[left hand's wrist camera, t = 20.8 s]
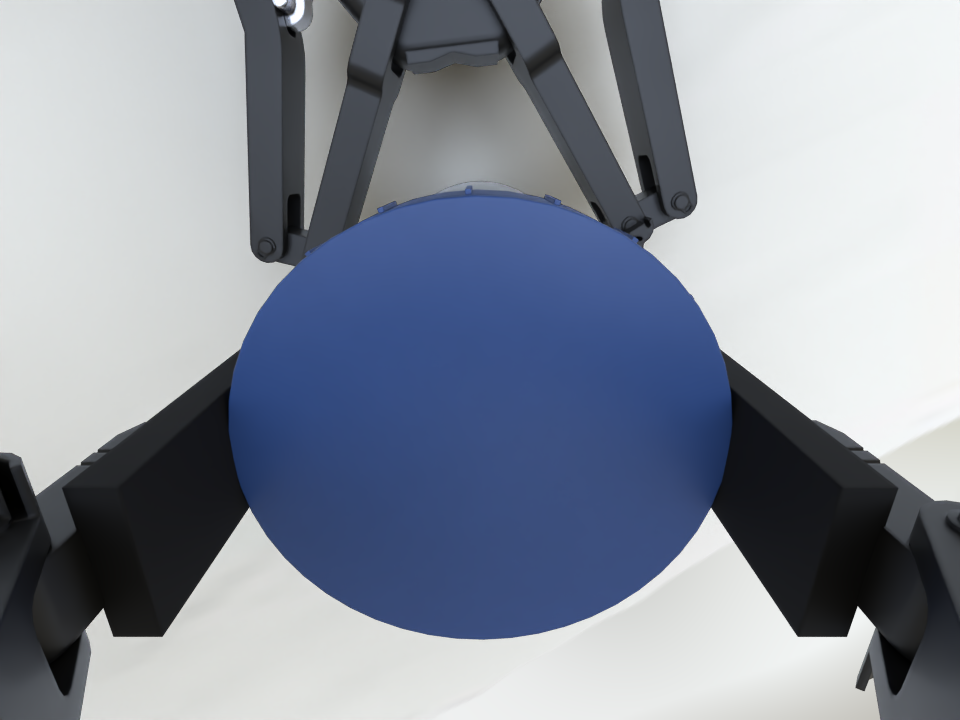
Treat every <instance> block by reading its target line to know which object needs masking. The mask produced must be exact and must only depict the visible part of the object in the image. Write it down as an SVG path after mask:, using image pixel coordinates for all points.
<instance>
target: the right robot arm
mask: <svg viewBox="0 0 960 720" xmlns="http://www.w3.org/2000/svg"><path fill="white" fill-rule="evenodd" d="M541 1H542V0H339V2H340V3H341V4H342V5H343V6H344V8H345V9H346V10H347V11H348V12H349V13H350V15H351V16H352V17H353V18H354V19H355V21H356V22H357V23H358V27H357V31H356V35H355V39H354V42H353V46H352V50H351V54H350V58H349V62H348V69H347V76H348V80H347V86H346V90H345V93H344V97H343V101H342V105H341V109H340V113H339V116H338V120H337V124H336V128H335V132H334V135H333V139H332V143H331V147H330V151H329V154H328V158H327V162H326V166H325V170H324V173H323V177H322V181H321V185H320V189H319V192H318V196H317V200H316V204H315V208H314V211H313V215H312V219H311V223H310V227H309V230H305V229H304V158H305V52H304V45H303V39H302V35H301V31H303V30H305V29H307V28H308V27H309V26H310V24H311V22H312V18H313V7H312V3H313V0H234V2H235V5H236V8H237V11H238V14H239V17H240V20H241V23H242V26H243V29H244V32H245V65H246V101H247V137H248V173H249V209H250V245H251V249H252V252H253V253H254V255H255V257H257V258H258V259H259V260H261V261H263V262H266V263H272V262H275V261H276V262H280V263H284V264H288V265H293V266H297V265H298V264H299V262H300V261H301V260H303V259H304V258H305V257H307V256H306V255H305V253H306V252H307V251H309V250H311V249H313V248H315V247H317V246H319V245H321V244H323V243H325V242H326V241H328V240H329V239H330V238H332V237H334V236H336V235H338V234H339V233H341V232H343V231H345V230H347V229H348V228H350V227H352V226H354V225H356V224H357V223H358V221H359V218H360V215H361V211H362V208H363V205H364V201H365V198H366V194H367V191H368V188H369V184H370V181H371V177H372V174H373V171H374V167H375V164H376V161H377V157H378V154H379V150H380V147H381V144H382V140H383V137H384V133H385V130H386V127H387V123H388V120H389V116H390V113H391V110H392V106H393V104H394V101H395V100H396V98H397V96H398V94H399V91H400V88H401V84H402V81H403V77H404V74H405V71H406V70H409V71H412V72H413V73H414V74H422V73H430V72H436V71H438V70H440V69H442V68H445V67H447V66H449V65H452V64H454V63H458V64H464V65H469V66H475V67H480V66H489V65H497V63H498V61H499V60H501V59H503V58H505V57H506V59H507V61H508V63H509V65H510V66H511V68H512V70H513V72H514V74H515V75H516V77H517V79H518V80H519V82H520V83H521V84H522V85H523V87H524V88H525V90H526V91H527V93H528V95H529V97H530V99H531V100H532V102H533V104H534V106H535V108H536V109H537V111H538V113H539V115H540V117H541V118H542V120H543V122H544V124H545V126H546V127H547V129H548V131H549V133H550V135H551V136H552V138H553V140H554V142H555V143H556V145H557V147H558V149H559V151H560V152H561V154H562V156H563V158H564V160H565V161H566V163H567V165H568V167H569V169H570V170H571V172H572V174H573V176H574V178H575V179H576V181H577V183H578V185H579V187H580V188H581V190H582V192H583V194H584V196H585V197H586V199H587V201H588V203H589V205H590V206H591V208H592V210H593V212H594V214H595V215H596V217H597V219H598V221H599V222H601V223H602V224H604V225H606V226H608V227H610V228H612V229H613V228H614V227H615V228H617V229H619V230H621V231H623V232H625V233H627V234H630V235H632V236H634V237H635V238H637V239H638V240H639V241H638V242H637V244H638V245H639V246H641V247H642V248H643V245H644V243H645V242H646V241H647V240H648V239H649V238H650V236H651V235H652V233H653V229H655V228H657V227H659V226H661V225H663V224H665V223H667V222H669V221H671V220H673V219H681V218H685V217H687V216H689V215H690V214H691V213H692V212H693V211H694V209H695V207H696V204H697V193H696V188H695V182H694V177H693V172H692V167H691V162H690V157H689V151H688V146H687V141H686V136H685V131H684V126H683V120H682V115H681V110H680V105H679V100H678V95H677V89H676V84H675V79H674V74H673V69H672V63H671V58H670V53H669V48H668V43H667V38H666V32H665V27H664V22H663V17H662V12H661V7H660V1H659V0H602V14H603V22H604V28H605V33H606V37H607V42H608V46H609V50H610V55H611V59H612V63H613V68H614V72H615V77H616V81H617V85H618V90H619V94H620V98H621V103H622V107H623V111H624V116H625V120H626V124H627V129H628V133H629V137H630V142H631V146H632V151H633V155H634V159H635V164H636V168H637V172H638V177H639V181H640V185H641V190H642V192H641V193H639V194H637V195H634V193H633V191H632V189H631V187H630V185H629V183H628V182H627V180H626V178H625V176H624V174H623V172H622V170H621V168H620V166H619V164H618V162H617V160H616V159H615V157H614V155H613V153H612V151H611V149H610V147H609V145H608V143H607V141H606V139H605V138H604V136H603V134H602V132H601V130H600V128H599V126H598V124H597V122H596V120H595V118H594V116H593V115H592V113H591V111H590V109H589V107H588V105H587V103H586V101H585V99H584V97H583V95H582V94H581V92H580V90H579V88H578V86H577V84H576V82H575V80H574V78H573V76H572V74H571V72H570V71H569V69H568V67H567V65H566V63H565V61H564V59H563V57H562V54H561V51H560V46H559V43H558V41H557V38H556V36H555V34H554V32H553V30H552V28H551V27H550V25H549V23H548V21H547V19H546V17H545V15H544V13H543V11H542V9H541V7H540V5H539V4H540V3H541Z"/></svg>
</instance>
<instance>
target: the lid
mask: <svg viewBox="0 0 960 720" xmlns="http://www.w3.org/2000/svg"><path fill="white" fill-rule="evenodd" d="M560 203H561V200H558V199H556V198H554V197H552V196H549V195H546V194H545V197H544V198H541V197H537V196H532V195H527V194H521V193H516V192H511V191H498V190H479V189H475V190H473V187H472V185H469V186H467V187H466V189H465V190H463V191H451V192H443V193H438V194H434V195H429V196H425V197H421V198H416V199H412V200H410V201H407V202H404V203H402V204H399V205H397V203H396V201H394V202H391V203H389V204H387V205H384V206H382V207H380V208H378V209H377V210H378V212H379V213H377V214H375V215H373V216H371V217H369V218H367V219H365V220H363V221H361V222H359V223H357V224H356V225H354V226H352V227H350V228H348V229H347V230H345V231H343V232H341V233H339V234H338V235H336V236H334V237H332V238H330V239H329V240H328V241H326V242H325V243H323V244H321V245H319V246H317V247H315V248H313V249H311V250H309V251H307V252H306V253H305V255H306V256H307V257H305V258H304V259H303V260H301V261H300V262H299V264H298V265H297V266H296V267H295V268H294V269H293V270H292V271H291V272H290V273H289V274H288V275H287V276H286V277H285V278H284V279H283V280H282V281H281V282H280V283H279V284H278V285H277V286H276V288H275V289H274V291H273V292H272V293H271V295H270V296H269V298H268V299H267V300H266V302H265V303H264V304H263V306H262V307H261V309H260V310H259V311H258V313H257V315H256V317H255V319H254V321H253V323H252V325H251V327H250V329H249V331H248V333H247V335H246V337H245V339H244V341H243V343H242V347H241V350H240V353H239V356H238V359H237V362H236V365H235V368H234V371H233V378H232V384H231V390H230V396H229V436H230V442H231V447H232V452H233V458H234V463H235V467H236V472H237V476H238V480H239V483H240V486H241V489H242V491H243V493H244V495H245V498H246V500H247V502H248V504H249V506H250V509H251V511H252V513H253V515H254V516H255V518H256V519H257V521H258V523H259V524H260V526H261V527H262V529H263V531H264V532H265V534H266V535H267V537H268V538H269V539H270V540H271V542H272V543H273V544H274V545H275V547H276V548H277V549H278V550H279V551H280V553H281V554H282V555H283V556H284V558H285V559H287V560H288V561H289V562H290V563H291V564H292V565H293V566H294V567H295V568H296V569H297V570H298V571H299V572H300V573H301V574H302V575H303V576H304V577H305V578H307V579H308V580H309V581H311V582H312V583H313V584H315V585H316V586H317V587H319V588H320V589H321V590H323V591H324V592H325V593H326V594H328V595H330V596H331V597H333V598H335V599H336V600H338V601H340V602H341V603H343V604H345V605H346V606H348V607H350V608H352V609H354V610H356V611H358V612H360V613H363V614H365V615H367V616H369V617H371V618H373V619H376V620H378V621H381V622H384V623H387V624H390V625H393V626H396V627H399V628H402V629H406V630H410V631H414V632H419V633H423V634H427V635H434V636H441V637H449V638H456V639H483V640H484V639H501V638H513V637H520V636H526V635H533V634H539V633H543V632H546V631H550V630H554V629H558V628H562V627H565V626H568V625H571V624H574V623H576V622H579V621H582V620H584V619H587V618H590V617H592V616H594V615H596V614H598V613H600V612H602V611H604V610H606V609H608V608H610V607H612V606H614V605H616V604H618V603H619V602H621V601H623V600H624V599H626V598H627V597H629V596H631V595H632V594H634V593H635V592H637V591H638V590H640V589H641V588H642V587H644V586H645V585H646V584H647V583H649V582H650V581H651V580H652V579H654V578H655V577H656V576H657V575H659V574H660V573H661V572H662V571H663V570H664V569H665V568H666V567H667V566H668V565H669V564H670V563H671V562H672V561H673V560H674V559H675V558H676V557H677V556H678V555H679V554H680V553H681V551H682V550H683V549H684V547H685V546H686V545H687V544H688V542H689V541H690V540H691V538H692V537H693V536H694V534H695V533H696V532H697V530H698V529H699V527H700V525H701V524H702V522H703V520H704V518H705V517H706V515H707V513H708V512H709V510H710V508H711V506H712V504H713V502H714V499H715V497H716V494H717V492H718V490H719V487H720V485H721V482H722V479H723V474H724V469H725V465H726V460H727V455H728V450H729V444H730V439H731V433H732V402H731V391H730V386H729V381H728V376H727V371H726V366H725V362H724V359H723V357H722V354H721V351H720V348H719V346H718V343H717V340H716V337H715V335H714V333H713V331H712V329H711V327H710V326H709V324H708V322H707V320H706V318H705V316H704V315H703V313H702V311H701V309H700V307H699V306H698V304H697V303H696V302H695V301H694V298H693V296H692V295H691V294H689V293H688V291H687V290H686V289H685V288H684V286H683V285H682V284H681V282H680V281H679V280H678V279H677V278H676V277H675V276H674V275H673V274H672V273H671V272H670V271H669V270H668V269H667V268H666V267H665V266H664V265H663V264H662V263H661V262H660V261H658V260H657V259H656V258H655V257H654V256H653V255H652V254H651V253H649V252H648V251H646V250H645V249H644V248H642V247H641V246H639V245H638V244H637V242H638V241H639V240H638V239H637V238H635V237H634V236H632V235H630V234H627V233H625V232H623V231H621V230H619V229H617V228H615V227H614V228H613V229H612V228H610V227H608V226H606V225H604V224H602V223H601V222H599V221H597V220H595V219H593V218H591V217H589V216H587V215H585V214H583V213H581V212H578V211H576V210H574V209H572V208H570V207H567V206H565V205H562V204H560Z"/></svg>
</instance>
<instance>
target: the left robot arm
mask: <svg viewBox="0 0 960 720" xmlns="http://www.w3.org/2000/svg"><path fill="white" fill-rule="evenodd" d="M240 350H241V349H240ZM240 350H239V351H238V352H236V353H235V354H234V355H232V356H231V357H230V358H229V359H227V360H226V361H225V362H223V363H222V364H221V365H219V366H218V367H217V368H216V369H214V370H213V371H212V372H210V373H209V374H208V375H207V376H205V377H204V378H203V379H201V380H200V381H199V382H198V383H196V384H195V385H194V386H192V387H191V388H190V389H189V390H187V391H186V392H185V393H183V394H182V395H181V396H180V397H178V398H177V399H176V400H174V401H173V402H172V403H170V404H169V405H168V406H167V407H165V408H164V409H163V410H161V411H160V412H159V413H158V414H156V415H155V416H154V417H152V418H151V419H150V420H149V421H147V422H144V423H142V424H140V425H138V426H136V427H133V428H131V429H129V430H127V431H125V432H123V433H121V434H118V435H117V436H115V437H114V438H113V439H111V440H110V441H109V442H107V443H106V444H105V445H103V446H102V447H101V448H99V449H98V452H97V453H93V454H91V455H90V456H89V457H87V458H86V459H85V460H83V461H82V462H81V466H75V467H74V468H73V469H71V470H70V471H69V472H67V473H66V474H65V475H63V476H62V477H61V478H59V479H58V480H57V481H55V482H54V483H53V484H51V485H50V486H49V487H47V488H46V489H45V490H43V491H42V492H41V493H39V494H38V495H37V496H35V494H34V491H33V489H32V486H31V483H30V481H29V478H28V475H27V473H26V470H25V467H24V465H23V462H22V459H21V457H19V456H17V455H14V454H12V453H0V720H80V715H81V709H82V703H83V697H84V691H85V685H86V679H87V673H88V667H89V661H90V655H91V649H90V642H89V639H88V636H87V634H86V631H85V629H86V628H87V627H88V625H89V624H90V623H91V622H92V621H93V620H94V618H95V617H96V616H97V615H98V614H99V612H100V611H101V610H102V609H103V608H104V611H105V614H106V617H107V619H108V622H109V625H110V628H111V631H112V634H113V637H163V635H164V634H165V632H166V631H167V629H168V628H169V626H170V625H171V623H172V622H173V620H174V619H175V617H176V616H177V614H178V613H179V611H180V610H181V608H182V607H183V605H184V604H185V602H186V601H187V599H188V598H189V596H190V595H191V593H192V592H193V590H194V589H195V588H196V586H197V585H198V583H199V582H200V580H201V579H202V577H203V576H204V574H205V573H206V571H207V570H208V568H209V567H210V565H211V564H212V562H213V561H214V559H215V558H216V556H217V555H218V553H219V552H220V550H221V549H222V547H223V546H224V544H225V543H226V541H227V540H228V538H229V537H230V535H231V534H232V532H233V531H234V529H235V528H236V526H237V525H238V523H239V522H240V520H241V519H242V517H243V516H244V514H245V513H246V511H247V510H248V508H249V507H250V506H249V504H248V502H247V500H246V498H245V495H244V493H243V491H242V489H241V486H240V483H239V480H238V476H237V472H236V467H235V463H234V458H233V452H232V447H231V442H230V436H229V396H230V390H231V384H232V378H233V371H234V368H235V365H236V362H237V359H238V356H239V353H240ZM720 351H721V354H722V357H723V359H724V362H725V366H726V371H727V376H728V381H729V386H730V391H731V402H732V433H731V439H730V444H729V450H728V455H727V460H726V465H725V469H724V474H723V479H722V482H721V485H720V487H719V490H718V492H717V494H716V497H715V499H714V502H713V504H712V506H711V508H712V510H713V511H714V513H715V514H716V515H717V517H718V518H719V520H720V521H721V523H722V524H723V526H724V527H725V529H726V530H727V532H728V533H729V535H730V536H731V538H732V539H733V541H734V542H735V544H736V545H737V547H738V548H739V550H740V551H741V553H742V554H743V556H744V557H745V559H746V560H747V562H748V563H749V565H750V566H751V568H752V569H753V570H754V572H755V574H756V575H757V577H758V578H759V580H760V581H761V583H762V584H763V586H764V587H765V588H766V590H767V592H768V593H769V594H770V596H771V597H772V599H773V600H774V602H775V603H776V605H777V606H778V608H779V609H780V611H781V612H782V614H783V615H784V617H785V618H786V620H787V621H788V623H789V624H790V626H791V627H792V629H793V630H794V632H795V633H796V635H797V636H798V637H847V635H848V632H849V629H850V626H851V623H852V621H853V618H854V615H855V612H856V609H857V606H858V607H859V608H860V609H861V610H862V611H863V613H864V614H865V615H866V616H867V617H868V619H869V620H870V621H871V622H872V623H873V624H874V626H875V627H876V628H875V631H874V634H873V637H872V639H871V642H870V644H869V647H868V650H867V653H866V655H865V658H864V661H863V663H862V666H861V669H860V671H859V674H858V677H857V682H856V688H857V689H860V690H862V691H865V688H866V686H867V683H868V681H869V679H872V678H874V683H875V690H876V696H877V701H878V708H879V713H880V719H881V720H960V503H959V502H953V501H934V500H933V499H931V498H930V497H929V496H927V495H926V494H925V493H923V492H922V491H921V490H919V489H918V488H917V487H915V486H914V485H913V484H911V483H910V482H908V481H907V480H906V479H905V478H903V477H902V476H900V475H899V474H898V473H896V472H895V471H894V470H892V469H891V468H890V467H888V466H887V465H886V464H881V463H880V460H879V459H878V458H876V457H875V456H874V455H872V454H871V453H870V452H868V451H864V450H863V447H861V446H860V445H859V444H857V443H856V442H855V441H853V440H852V439H851V438H849V437H848V436H847V435H845V434H844V433H842V432H840V431H838V430H836V429H834V428H831V427H829V426H827V425H825V424H823V423H821V422H818V421H816V420H810V419H809V418H808V417H807V416H805V415H804V414H803V413H801V412H800V411H799V410H798V409H796V408H795V407H794V406H792V405H791V404H790V403H789V402H787V401H786V400H785V399H783V398H782V397H781V396H780V395H778V394H777V393H776V392H774V391H773V390H772V389H771V388H769V387H768V386H767V385H765V384H764V383H763V382H761V381H760V380H759V379H758V378H756V377H755V376H754V375H752V374H751V373H750V372H749V371H747V370H746V369H745V368H743V367H742V366H741V365H740V364H738V363H737V362H736V361H734V360H733V359H732V358H731V357H729V356H728V355H727V354H725V353H724V352H723V351H722V350H720Z"/></svg>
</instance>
